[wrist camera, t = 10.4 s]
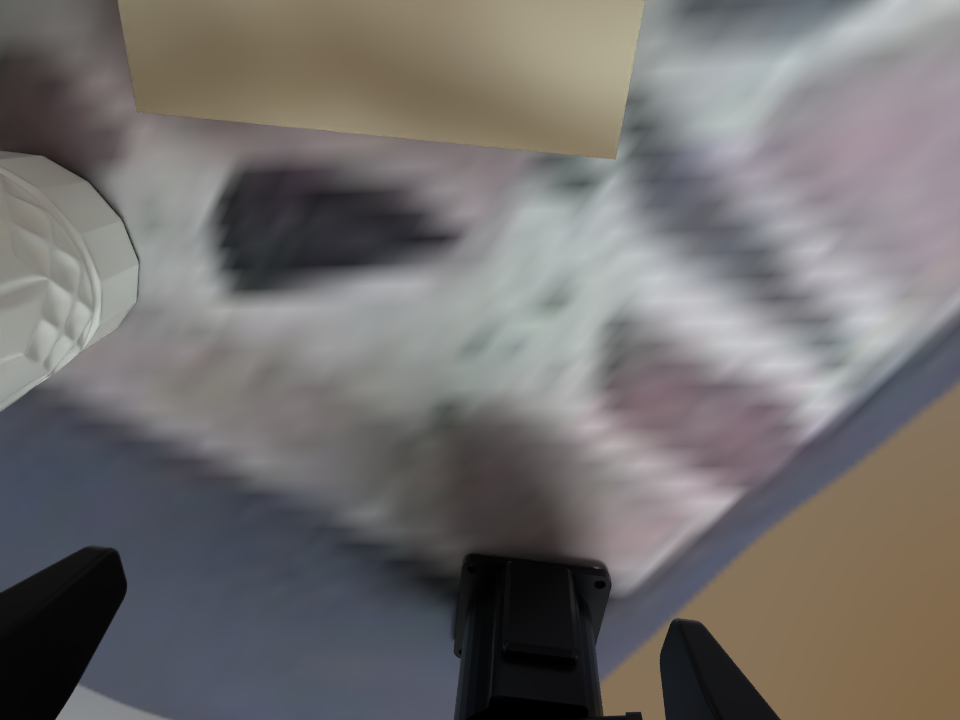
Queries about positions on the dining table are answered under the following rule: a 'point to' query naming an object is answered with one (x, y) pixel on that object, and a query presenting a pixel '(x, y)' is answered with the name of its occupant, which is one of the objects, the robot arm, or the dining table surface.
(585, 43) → the birch board
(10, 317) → the white cup
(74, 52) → the dining table surface
